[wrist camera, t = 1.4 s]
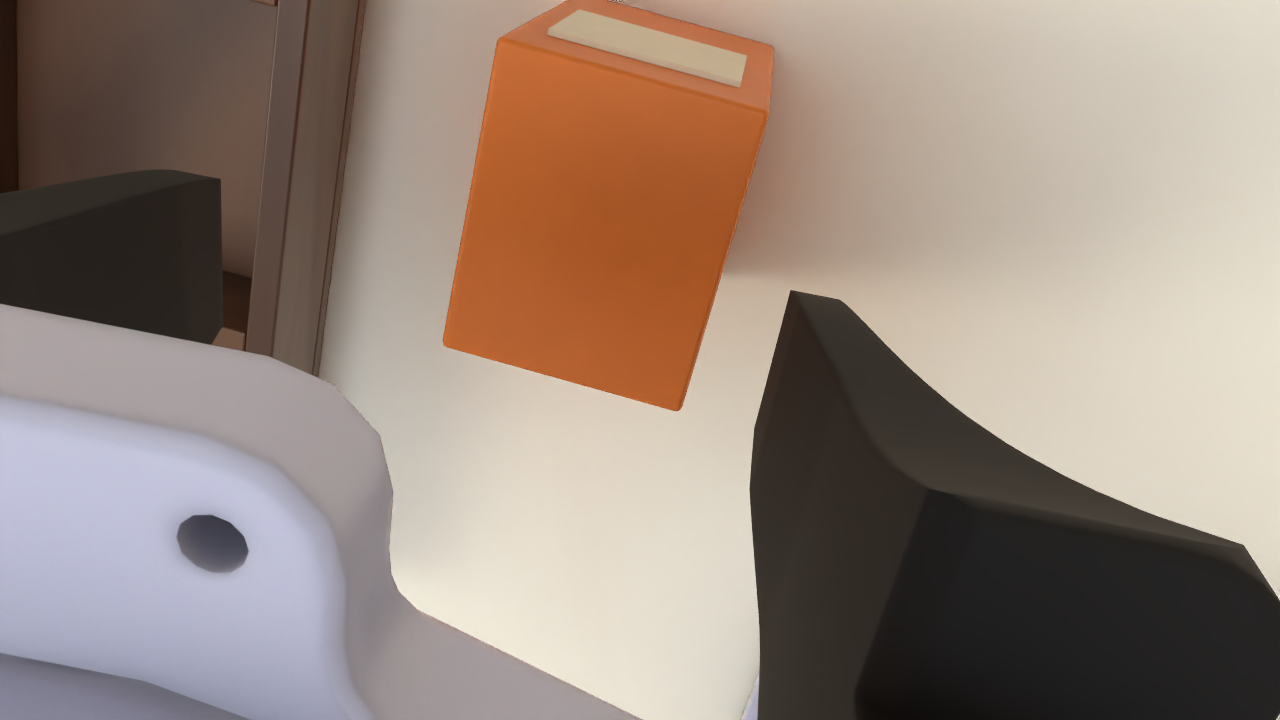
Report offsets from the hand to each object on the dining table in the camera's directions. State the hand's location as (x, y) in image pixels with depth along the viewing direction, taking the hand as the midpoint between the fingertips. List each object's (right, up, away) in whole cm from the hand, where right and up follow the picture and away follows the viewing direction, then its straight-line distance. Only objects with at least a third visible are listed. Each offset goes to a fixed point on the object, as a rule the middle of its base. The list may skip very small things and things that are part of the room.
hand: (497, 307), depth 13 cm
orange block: (+2, +4, +9) cm, 10 cm away
